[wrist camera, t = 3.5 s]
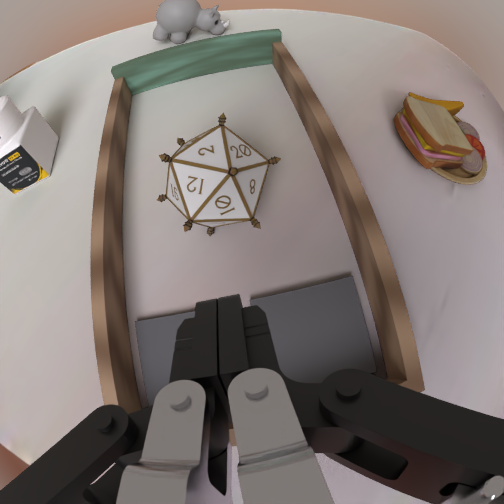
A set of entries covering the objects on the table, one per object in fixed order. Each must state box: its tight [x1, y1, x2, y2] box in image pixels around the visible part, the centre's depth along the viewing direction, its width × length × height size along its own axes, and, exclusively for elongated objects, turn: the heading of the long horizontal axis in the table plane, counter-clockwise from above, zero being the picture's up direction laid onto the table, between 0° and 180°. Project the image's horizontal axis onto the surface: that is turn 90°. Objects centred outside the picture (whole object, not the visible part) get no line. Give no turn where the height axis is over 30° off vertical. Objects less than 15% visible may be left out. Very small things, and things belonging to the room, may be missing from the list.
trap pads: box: [135, 276, 377, 407], centre depth 20 cm, size 8×17×1 cm, turn 102°
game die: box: [157, 113, 281, 236], centre depth 21 cm, size 9×8×10 cm
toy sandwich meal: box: [394, 92, 487, 185], centre depth 24 cm, size 12×14×5 cm
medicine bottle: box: [0, 95, 59, 194], centre depth 23 cm, size 7×7×12 cm
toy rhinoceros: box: [153, 0, 229, 44], centre depth 33 cm, size 7×12×8 cm, turn 85°
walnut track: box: [91, 29, 425, 446], centre depth 23 cm, size 40×21×5 cm, turn 12°
